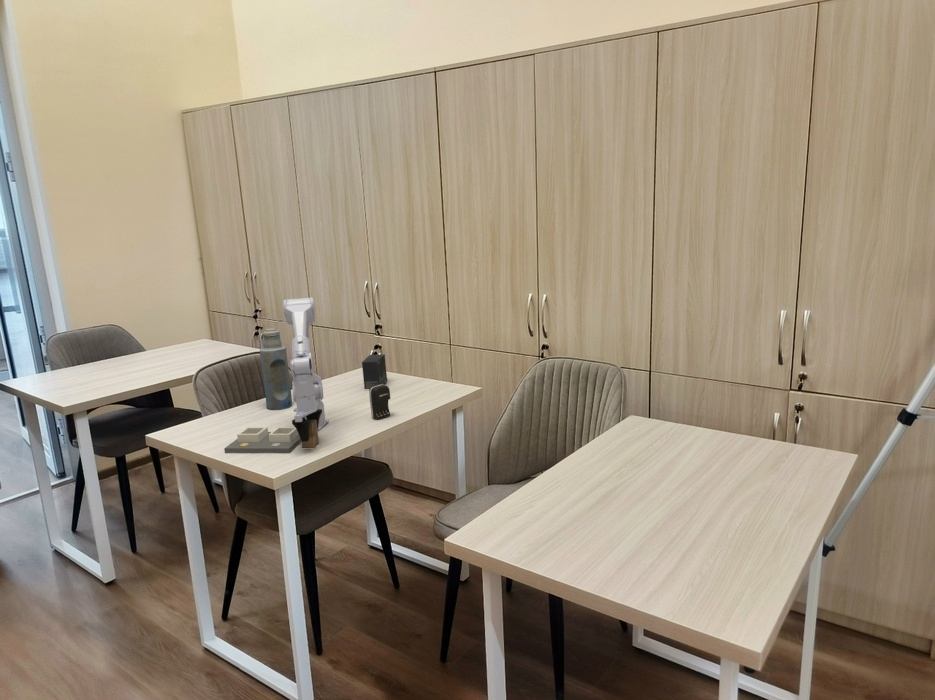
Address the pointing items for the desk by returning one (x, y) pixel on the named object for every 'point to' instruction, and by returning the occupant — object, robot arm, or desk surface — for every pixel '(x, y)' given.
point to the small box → (374, 371)
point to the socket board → (265, 440)
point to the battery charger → (379, 401)
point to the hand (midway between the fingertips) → (309, 436)
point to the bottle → (275, 371)
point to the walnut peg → (312, 436)
